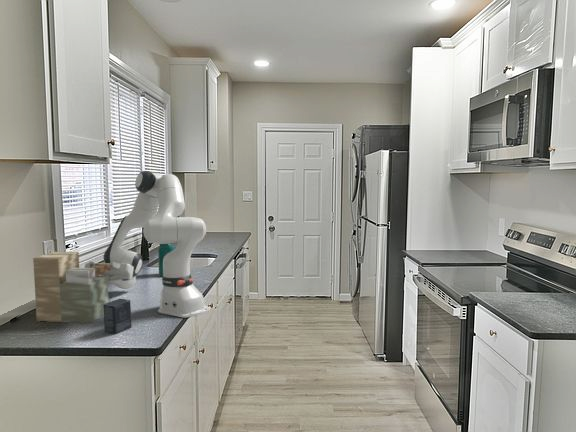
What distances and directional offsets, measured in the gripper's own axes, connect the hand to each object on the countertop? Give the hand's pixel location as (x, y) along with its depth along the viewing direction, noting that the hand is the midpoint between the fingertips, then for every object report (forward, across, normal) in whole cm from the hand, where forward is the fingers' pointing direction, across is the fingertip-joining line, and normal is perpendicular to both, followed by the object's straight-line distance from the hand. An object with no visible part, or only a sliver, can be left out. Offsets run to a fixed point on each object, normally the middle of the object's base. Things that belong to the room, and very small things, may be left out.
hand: (100, 263), depth 183 cm
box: (+14, +20, +30) cm, 38 cm away
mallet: (+4, 0, +7) cm, 8 cm away
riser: (+2, -6, +23) cm, 24 cm away
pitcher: (-60, +8, -13) cm, 62 cm away
